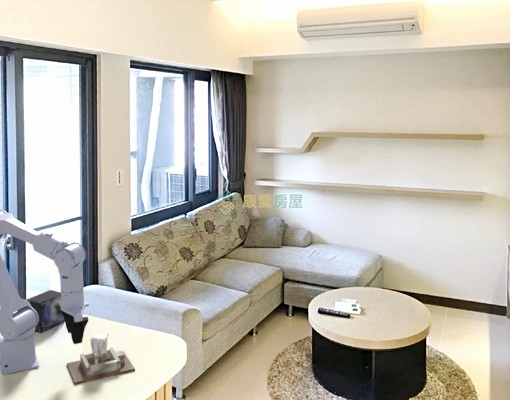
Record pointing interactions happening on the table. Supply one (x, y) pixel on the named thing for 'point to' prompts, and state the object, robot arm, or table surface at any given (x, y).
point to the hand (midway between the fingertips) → (74, 337)
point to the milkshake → (99, 348)
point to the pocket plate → (99, 366)
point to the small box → (47, 310)
